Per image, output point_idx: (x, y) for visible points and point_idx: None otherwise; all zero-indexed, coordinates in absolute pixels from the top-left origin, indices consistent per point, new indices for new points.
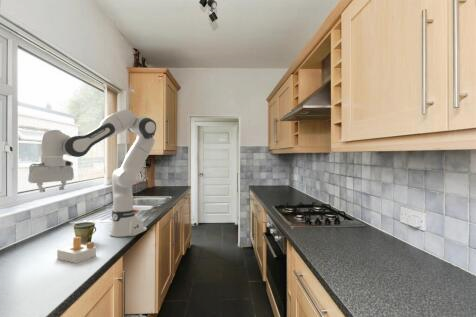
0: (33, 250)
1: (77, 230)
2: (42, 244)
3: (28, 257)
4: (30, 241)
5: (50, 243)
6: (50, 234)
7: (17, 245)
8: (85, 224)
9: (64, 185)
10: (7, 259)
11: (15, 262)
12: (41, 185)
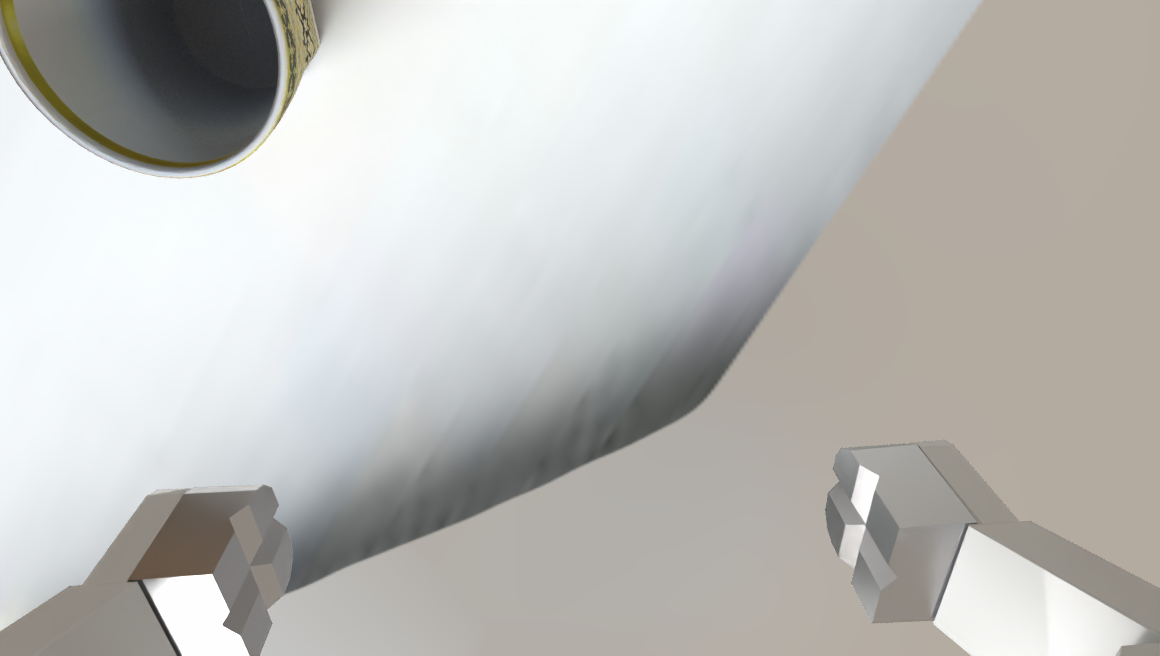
0: (628, 221)
1: (287, 4)
2: (502, 310)
3: (758, 77)
4: (507, 447)
5: (452, 284)
6: (326, 499)
7: (607, 427)
8: (99, 127)
9: (38, 619)
10: (841, 176)
11: (875, 45)
12: (1156, 622)
